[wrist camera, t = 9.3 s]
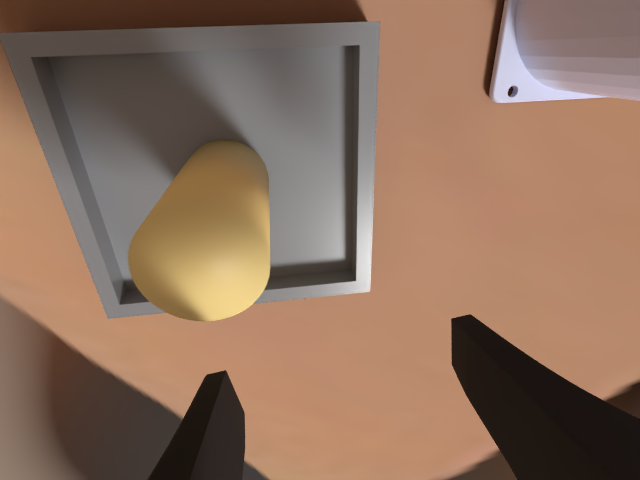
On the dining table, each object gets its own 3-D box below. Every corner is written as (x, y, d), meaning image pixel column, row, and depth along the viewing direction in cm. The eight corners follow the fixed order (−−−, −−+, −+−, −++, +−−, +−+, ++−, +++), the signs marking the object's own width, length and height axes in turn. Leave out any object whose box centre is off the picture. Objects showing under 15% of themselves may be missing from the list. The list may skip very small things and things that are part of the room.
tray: (368, 24, 16) (380, 21, 14) (362, 274, 22) (370, 291, 20) (26, 34, 15) (-3, 32, 13) (120, 298, 21) (107, 318, 19)
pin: (265, 137, 17) (263, 198, 10) (272, 215, 19) (275, 314, 12) (176, 141, 17) (109, 209, 10) (193, 221, 18) (147, 327, 11)
